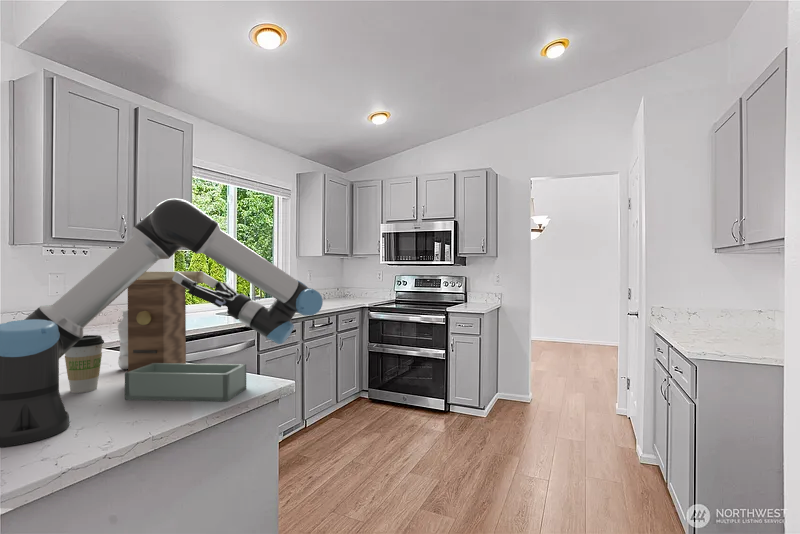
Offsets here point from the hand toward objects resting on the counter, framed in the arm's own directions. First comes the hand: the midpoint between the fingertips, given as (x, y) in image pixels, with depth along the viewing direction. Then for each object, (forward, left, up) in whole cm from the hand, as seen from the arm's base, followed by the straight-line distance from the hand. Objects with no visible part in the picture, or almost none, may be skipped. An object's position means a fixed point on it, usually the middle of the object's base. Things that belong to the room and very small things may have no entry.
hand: (187, 275), depth 137 cm
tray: (-14, -8, -32) cm, 36 cm away
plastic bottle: (+13, +28, -33) cm, 45 cm away
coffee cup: (-12, +24, -33) cm, 42 cm away
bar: (-1, +5, -2) cm, 6 cm away
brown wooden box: (0, +9, -32) cm, 34 cm away
